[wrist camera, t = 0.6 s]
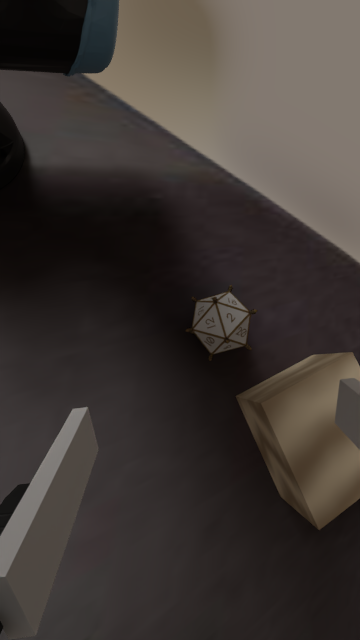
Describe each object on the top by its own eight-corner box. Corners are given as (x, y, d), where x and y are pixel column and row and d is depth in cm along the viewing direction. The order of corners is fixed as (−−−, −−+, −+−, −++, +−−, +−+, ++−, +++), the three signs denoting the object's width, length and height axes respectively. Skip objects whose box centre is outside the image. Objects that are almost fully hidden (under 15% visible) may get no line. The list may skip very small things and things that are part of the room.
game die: (212, 323, 38) (273, 302, 32) (206, 374, 34) (278, 361, 27) (173, 291, 33) (237, 259, 27) (161, 345, 29) (234, 321, 22)
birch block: (234, 396, 33) (261, 403, 27) (311, 354, 37) (352, 352, 30) (279, 495, 32) (319, 530, 25) (355, 443, 36) (407, 461, 29)
